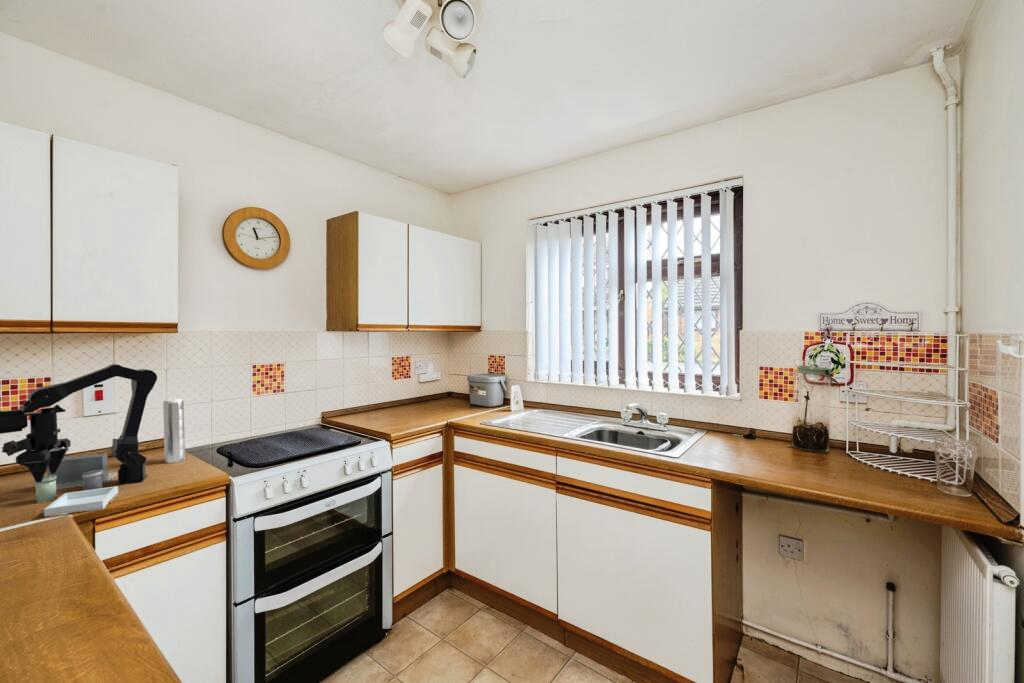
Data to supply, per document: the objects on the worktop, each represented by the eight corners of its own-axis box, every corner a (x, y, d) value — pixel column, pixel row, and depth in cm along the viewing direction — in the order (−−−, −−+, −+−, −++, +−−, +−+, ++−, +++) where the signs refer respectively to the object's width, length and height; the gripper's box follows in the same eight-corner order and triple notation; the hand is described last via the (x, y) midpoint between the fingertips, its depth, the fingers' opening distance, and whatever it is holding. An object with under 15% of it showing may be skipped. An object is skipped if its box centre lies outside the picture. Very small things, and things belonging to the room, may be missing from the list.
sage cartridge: (60, 495, 139) (59, 474, 139) (53, 501, 135) (52, 478, 135) (39, 498, 137) (38, 476, 137) (31, 504, 133) (30, 481, 133)
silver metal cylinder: (167, 464, 172) (166, 401, 171) (162, 461, 175) (160, 399, 175) (187, 460, 177) (185, 399, 176) (182, 457, 181) (180, 397, 180)
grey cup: (105, 489, 144) (104, 469, 144) (100, 494, 140) (99, 473, 140) (86, 492, 142) (85, 471, 142) (80, 497, 138) (79, 475, 138)
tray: (118, 493, 141) (117, 486, 141) (102, 509, 129) (102, 500, 129) (65, 501, 135) (65, 493, 135) (44, 518, 123) (43, 509, 123)
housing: (117, 474, 159) (116, 450, 159) (108, 482, 151) (107, 457, 151) (49, 483, 150) (48, 457, 150) (36, 491, 142) (35, 464, 142)
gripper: (23, 425, 140) (25, 472, 140) (-12, 438, 123) (-9, 492, 124) (70, 421, 145) (72, 467, 146) (43, 433, 129) (45, 485, 129)
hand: (46, 477), depth 136 cm, fingers open, 9 cm apart
